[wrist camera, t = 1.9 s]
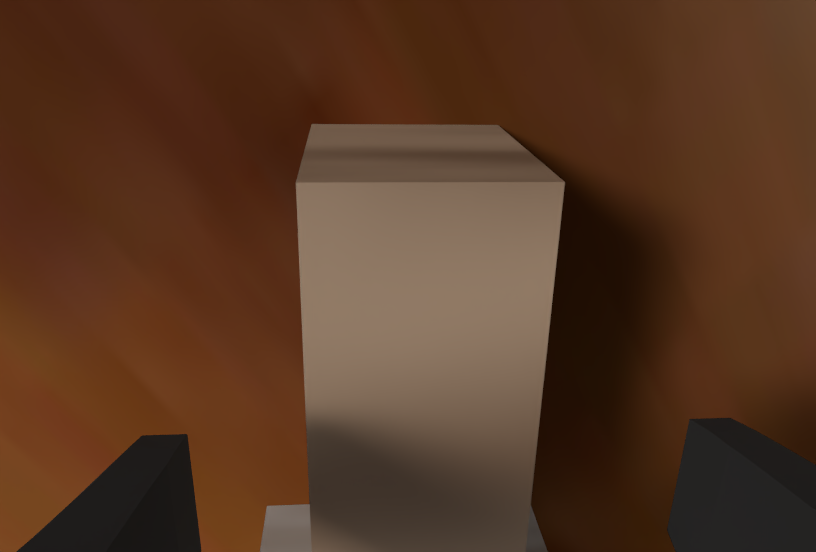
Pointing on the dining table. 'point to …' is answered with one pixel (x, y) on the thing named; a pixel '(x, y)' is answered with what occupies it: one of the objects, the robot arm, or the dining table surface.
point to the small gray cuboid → (421, 338)
